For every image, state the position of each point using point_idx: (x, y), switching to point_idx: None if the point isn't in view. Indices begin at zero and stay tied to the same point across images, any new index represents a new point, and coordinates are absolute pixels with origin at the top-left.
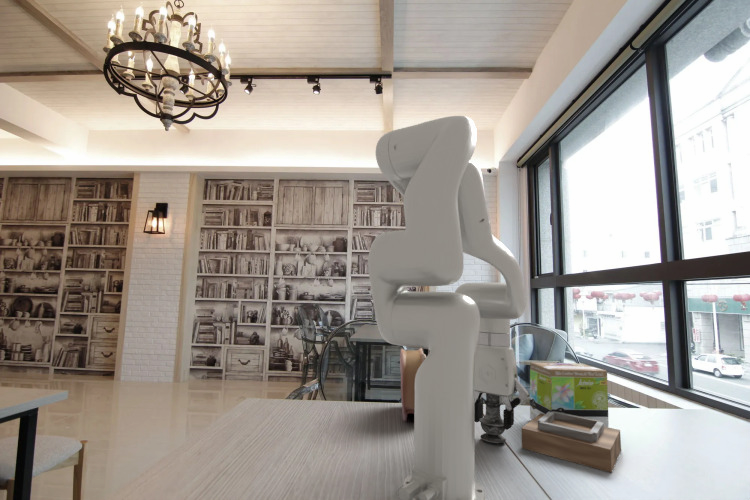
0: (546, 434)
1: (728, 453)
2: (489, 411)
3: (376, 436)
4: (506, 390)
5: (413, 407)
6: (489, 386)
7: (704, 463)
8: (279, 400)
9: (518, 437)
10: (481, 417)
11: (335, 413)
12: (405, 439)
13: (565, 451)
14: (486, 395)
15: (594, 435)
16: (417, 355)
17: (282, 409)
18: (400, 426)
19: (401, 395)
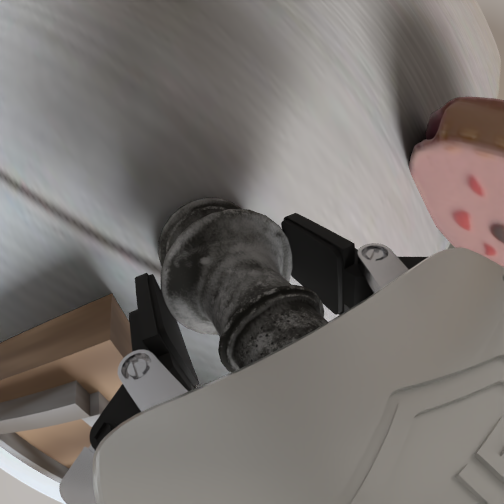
0: (33, 367)
1: (54, 495)
2: (251, 275)
3: (393, 4)
4: (122, 477)
5: (449, 108)
6: (354, 389)
7: (21, 470)
8: (498, 73)
9: (189, 346)
10: (294, 264)
11: (472, 73)
12: (360, 21)
13: (7, 353)
14: None
15: None
16: None
17: (484, 43)
18: (415, 93)
19: (486, 98)
